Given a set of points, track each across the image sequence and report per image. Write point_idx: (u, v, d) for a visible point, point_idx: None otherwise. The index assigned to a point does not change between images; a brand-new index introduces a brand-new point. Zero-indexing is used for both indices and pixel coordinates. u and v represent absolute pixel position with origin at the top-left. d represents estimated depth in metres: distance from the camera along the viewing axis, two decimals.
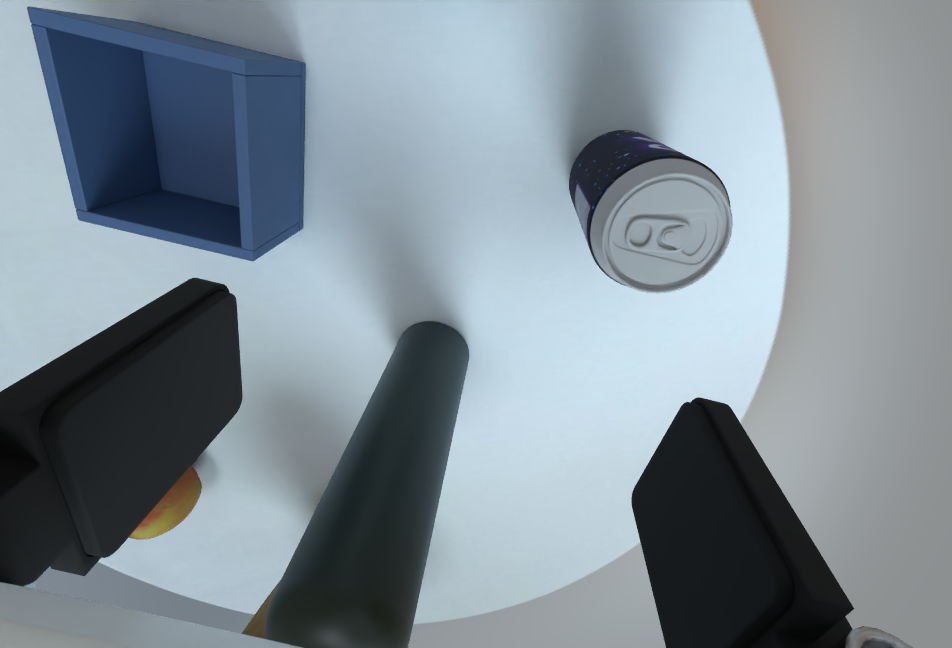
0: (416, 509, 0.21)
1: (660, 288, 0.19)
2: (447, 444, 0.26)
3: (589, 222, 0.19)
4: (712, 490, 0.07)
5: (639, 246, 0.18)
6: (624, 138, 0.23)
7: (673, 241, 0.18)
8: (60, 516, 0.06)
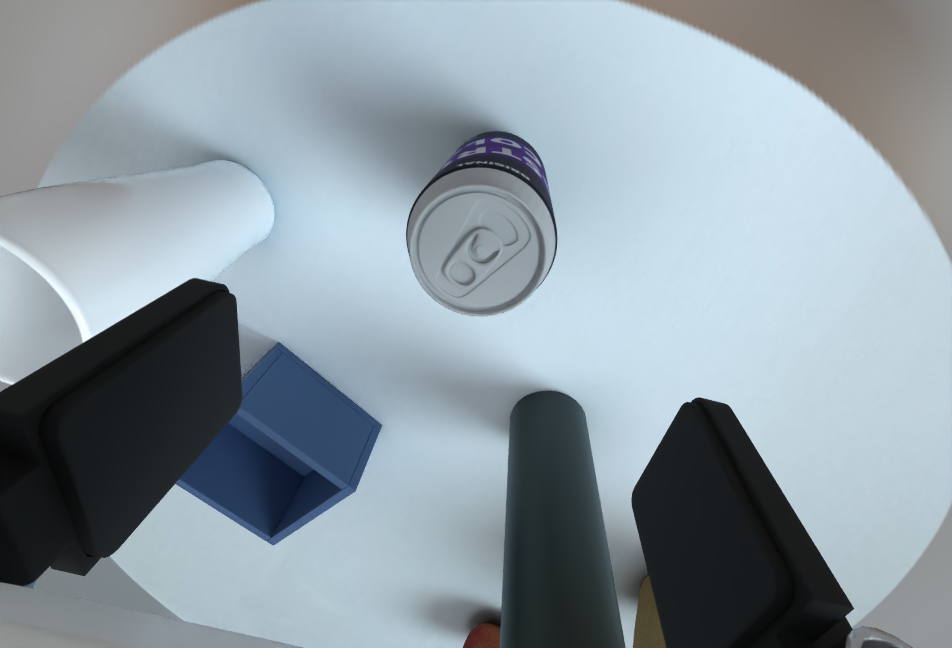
0: (565, 622, 0.19)
1: (534, 283, 0.16)
2: (581, 517, 0.24)
3: None
4: (712, 490, 0.07)
5: (473, 279, 0.16)
6: None
7: (490, 248, 0.16)
8: (59, 517, 0.06)
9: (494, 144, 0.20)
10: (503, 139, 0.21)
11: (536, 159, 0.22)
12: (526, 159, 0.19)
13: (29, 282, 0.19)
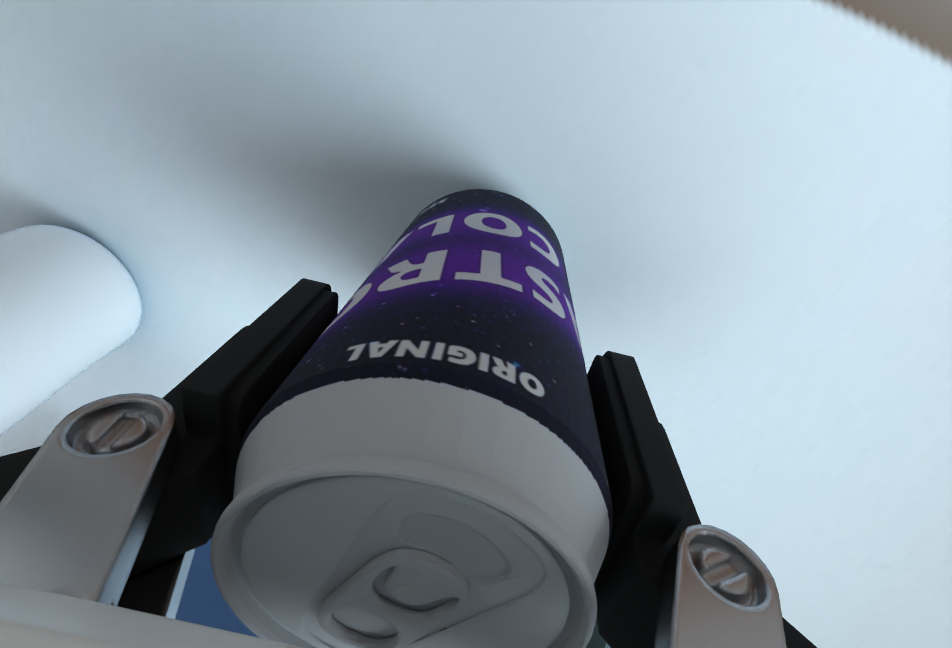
0: None
1: None
2: None
3: None
4: (603, 426, 0.08)
5: (397, 639, 0.06)
6: None
7: (435, 585, 0.06)
8: (224, 486, 0.07)
9: (467, 239, 0.10)
10: (489, 215, 0.11)
11: (550, 250, 0.12)
12: (533, 275, 0.09)
13: None
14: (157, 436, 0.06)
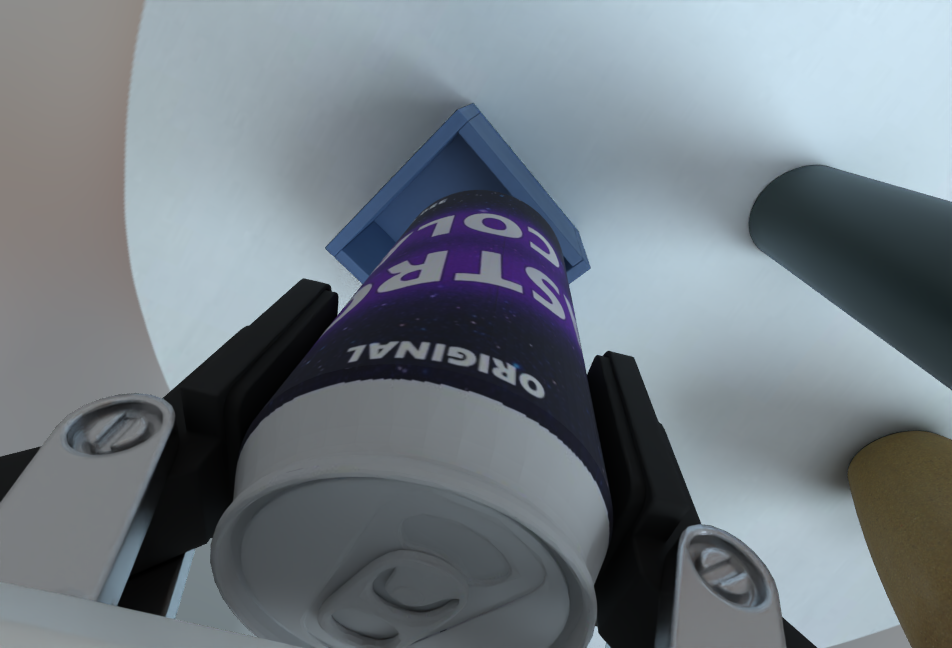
0: None
1: None
2: None
3: None
4: (604, 426, 0.08)
5: (396, 640, 0.06)
6: None
7: (435, 586, 0.06)
8: (225, 486, 0.07)
9: (467, 239, 0.10)
10: (489, 216, 0.11)
11: (550, 251, 0.12)
12: (533, 276, 0.09)
13: None
14: (157, 436, 0.06)
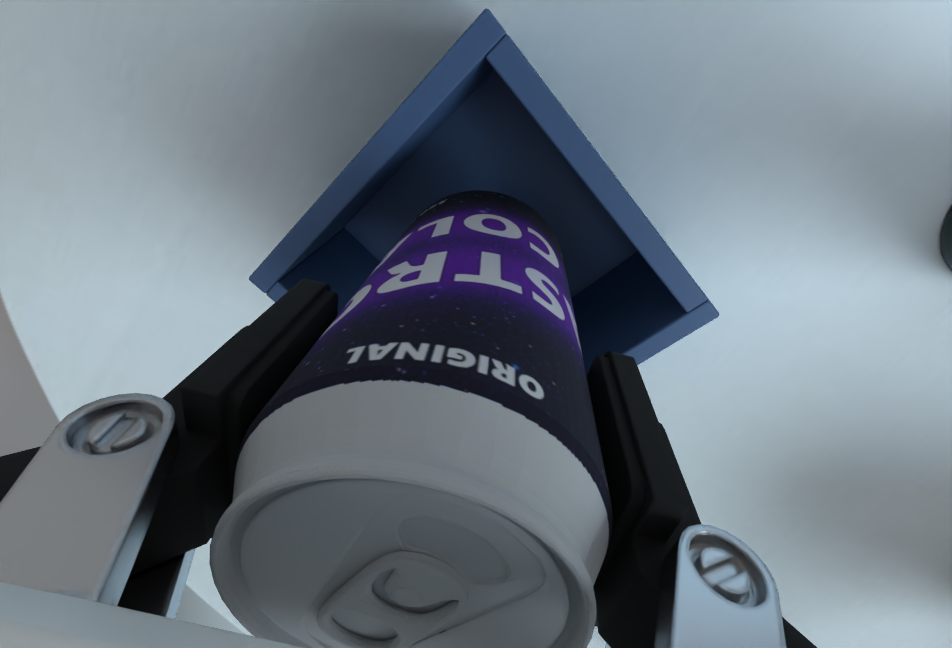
0: None
1: None
2: None
3: None
4: (603, 426, 0.08)
5: (395, 642, 0.06)
6: None
7: (435, 587, 0.06)
8: (225, 486, 0.07)
9: (467, 240, 0.10)
10: (489, 216, 0.11)
11: (550, 251, 0.12)
12: (532, 277, 0.09)
13: None
14: (157, 436, 0.06)
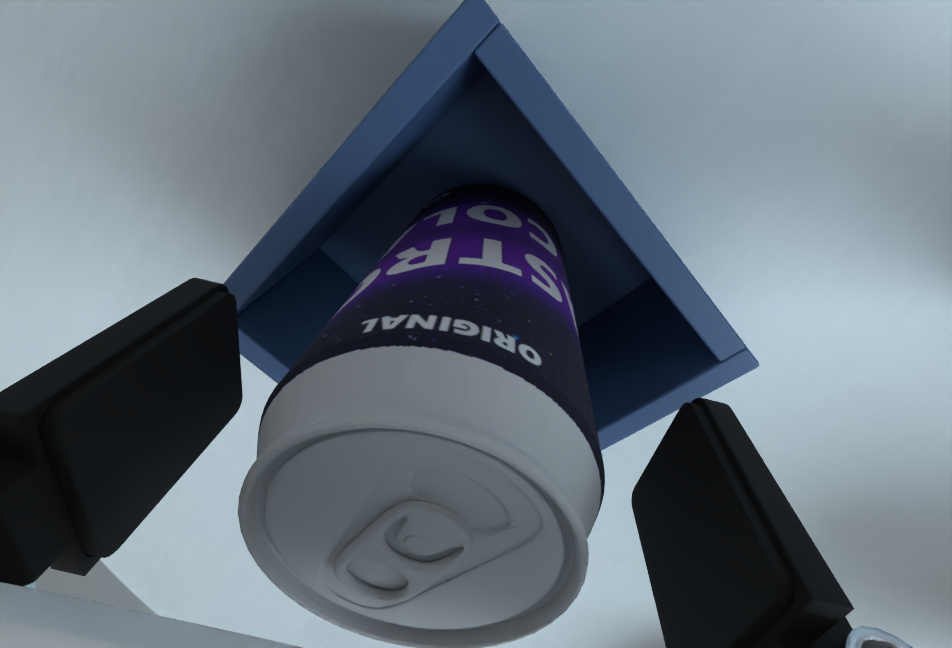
0: None
1: (549, 602, 0.07)
2: None
3: None
4: (712, 490, 0.07)
5: (405, 589, 0.07)
6: None
7: (442, 537, 0.06)
8: (60, 515, 0.06)
9: (470, 228, 0.10)
10: (490, 207, 0.12)
11: (549, 241, 0.12)
12: (532, 262, 0.10)
13: None
14: None
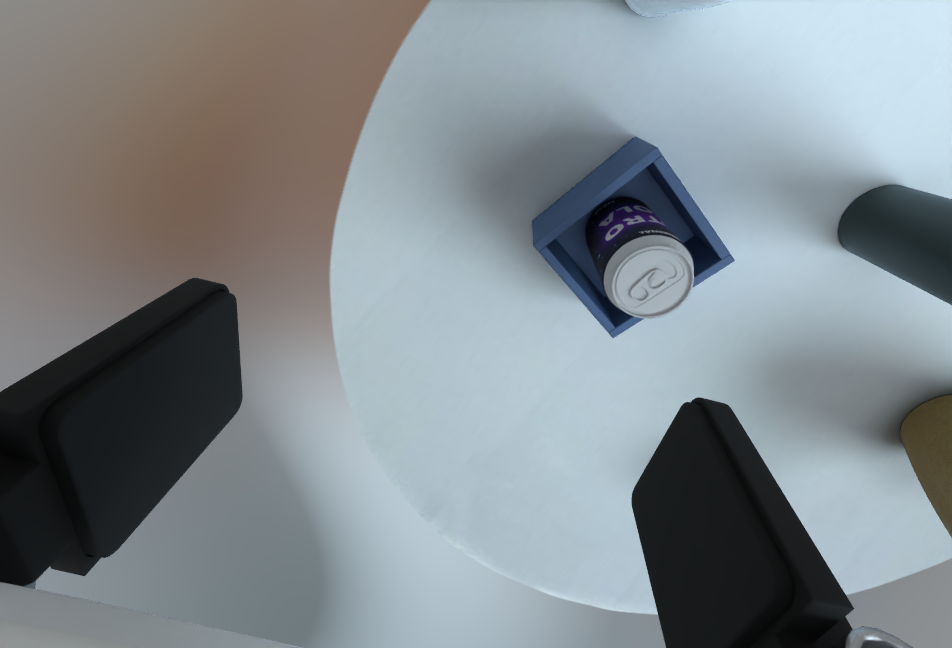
0: None
1: (681, 299, 0.28)
2: None
3: (614, 305, 0.30)
4: (712, 490, 0.07)
5: (646, 297, 0.28)
6: (595, 229, 0.34)
7: (659, 279, 0.28)
8: (61, 515, 0.06)
9: (641, 212, 0.32)
10: (639, 206, 0.33)
11: None
12: (663, 223, 0.31)
13: None
14: None
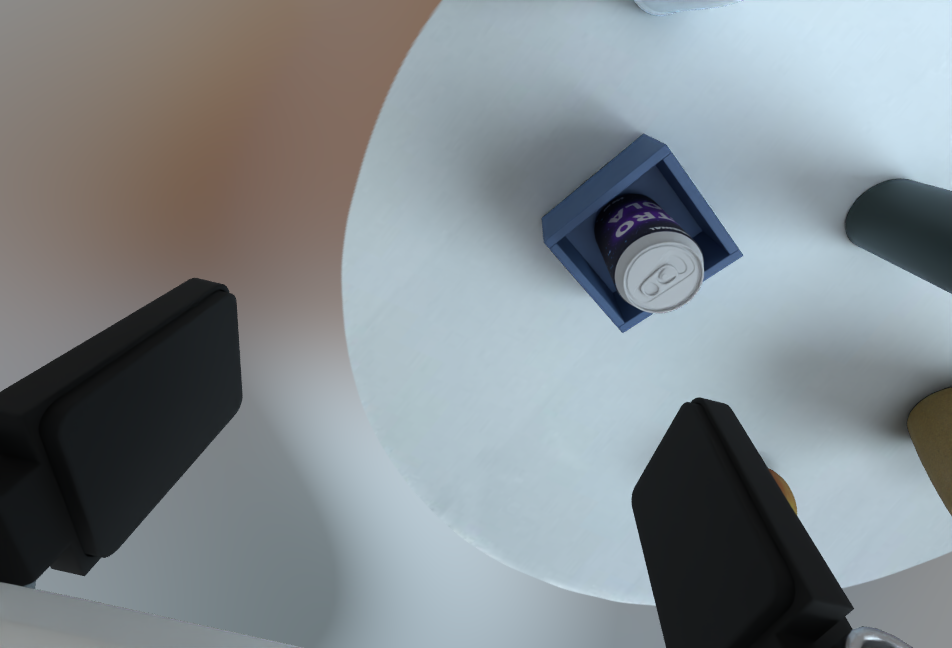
0: None
1: (691, 294, 0.29)
2: None
3: (625, 300, 0.30)
4: (712, 490, 0.07)
5: (657, 292, 0.29)
6: (605, 226, 0.34)
7: (669, 275, 0.28)
8: (60, 515, 0.06)
9: (651, 209, 0.32)
10: (648, 203, 0.34)
11: None
12: None
13: None
14: None
